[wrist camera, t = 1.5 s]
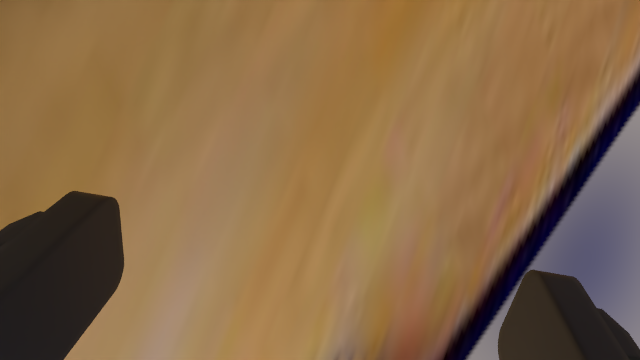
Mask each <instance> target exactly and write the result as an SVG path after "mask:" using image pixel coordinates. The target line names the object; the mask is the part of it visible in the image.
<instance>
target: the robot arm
mask: <svg viewBox="0 0 640 360" xmlns="http://www.w3.org/2000/svg"><path fill="white" fill-rule="evenodd" d="M123 268H124V254H123V243H122V232H121V221H120V210H119V205H118V202H117V200H116V199H115V198H113V197H108V196H102V195H96V194H90V193H84V192H78V191H72V192H69V193H68V194H66V195H65V196H64V197H62V198H61V199H60V200H59V201H57V202H56V203H55V204H54V205H52V206H51V207H50V208H49V209H47V210H46V211H45V212H40V211H39V212H37V213H34V214H32V215H30V216H27V217H25V218H23V219H20V220H18V221H16V222H13V223H11V224H9V225H7V226H6V227H5V228H3V229H2V230H1V231H0V360H64V358H65V357H66V356H67V354H68V353H69V352H70V350H71V349H72V348H73V346H74V345H75V344H76V342H77V341H78V340H79V338H80V337H81V336H82V334H83V333H84V332H85V330H86V329H87V328H88V326H89V325H90V324H91V323H92V321H93V320H94V319H95V317H96V316H97V315H98V313H99V312H100V311H101V309H102V308H103V307H104V305H105V304H106V303H107V301H108V300H109V299H110V297H111V296H112V295H113V293H114V292H115V291H116V289H117V287H118V285H119V283H120V280H121V277H122V273H123ZM498 354H499V360H640V349H639V348H638V346H637V345H636V343H635V342H634V340H633V339H632V337H631V336H630V334H629V333H628V332H627V331H626V330H624V328H622V327H621V326H620V325H619V324H618V323H617V322H616V321H615V320H614V319H612V318H611V317H610V316H609V315H608V314H607V313H606V312H605V311H604V310H602V309H598V308H596V307H595V305H594V304H593V302H592V300H591V299H590V297H589V296H588V294H587V293H586V291H585V289H584V288H583V286H582V285H581V283H580V282H579V281H578V280H577V279H576V278H575V277H572V276H566V275H560V274H554V273H548V272H542V271H536V270H530V271H529V272H527V273H526V274H525V276H524V278H523V279H522V282H521V284H520V286H519V288H518V291H517V293H516V295H515V297H514V300H513V302H512V304H511V306H510V308H509V311H508V313H507V315H506V317H505V320H504V322H503V324H502V327H501V329H500V333H499V339H498Z"/></svg>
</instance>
